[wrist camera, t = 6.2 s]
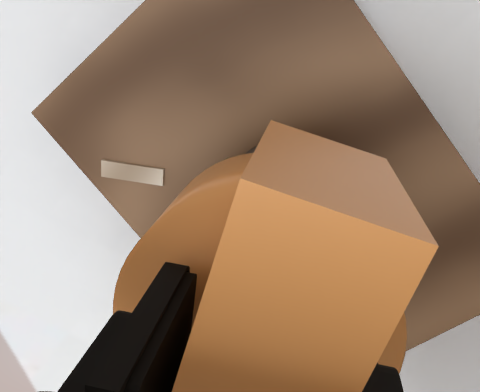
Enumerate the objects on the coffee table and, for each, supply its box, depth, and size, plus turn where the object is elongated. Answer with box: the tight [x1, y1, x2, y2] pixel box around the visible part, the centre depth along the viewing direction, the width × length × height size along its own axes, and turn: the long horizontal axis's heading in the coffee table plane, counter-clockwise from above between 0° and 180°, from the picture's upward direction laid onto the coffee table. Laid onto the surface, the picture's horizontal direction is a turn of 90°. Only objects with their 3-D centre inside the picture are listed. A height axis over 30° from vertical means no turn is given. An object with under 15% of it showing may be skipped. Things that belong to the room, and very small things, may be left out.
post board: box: [31, 0, 480, 351], centre depth 18 cm, size 20×14×8 cm
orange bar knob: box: [113, 120, 439, 392], centre depth 11 cm, size 11×7×8 cm, turn 164°
